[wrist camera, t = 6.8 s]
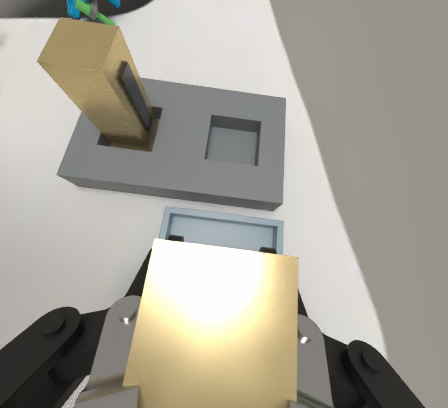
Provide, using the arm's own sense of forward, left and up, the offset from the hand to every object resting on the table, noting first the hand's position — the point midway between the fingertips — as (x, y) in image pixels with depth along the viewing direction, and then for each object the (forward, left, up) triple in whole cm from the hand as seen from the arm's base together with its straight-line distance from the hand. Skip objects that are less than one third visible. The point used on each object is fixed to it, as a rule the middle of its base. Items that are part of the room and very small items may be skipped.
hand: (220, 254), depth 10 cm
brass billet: (0, -2, -5) cm, 5 cm away
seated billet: (-11, +12, -9) cm, 18 cm away
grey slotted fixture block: (-5, +12, -10) cm, 16 cm away
